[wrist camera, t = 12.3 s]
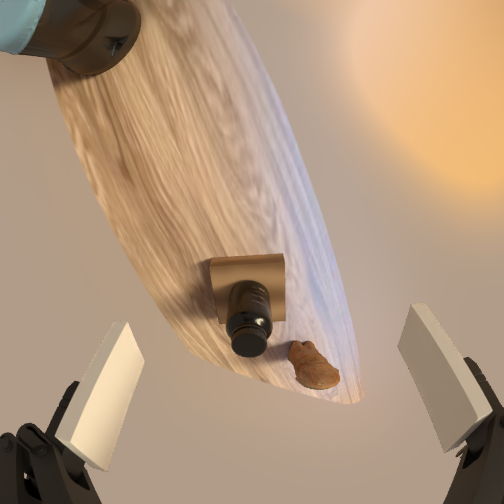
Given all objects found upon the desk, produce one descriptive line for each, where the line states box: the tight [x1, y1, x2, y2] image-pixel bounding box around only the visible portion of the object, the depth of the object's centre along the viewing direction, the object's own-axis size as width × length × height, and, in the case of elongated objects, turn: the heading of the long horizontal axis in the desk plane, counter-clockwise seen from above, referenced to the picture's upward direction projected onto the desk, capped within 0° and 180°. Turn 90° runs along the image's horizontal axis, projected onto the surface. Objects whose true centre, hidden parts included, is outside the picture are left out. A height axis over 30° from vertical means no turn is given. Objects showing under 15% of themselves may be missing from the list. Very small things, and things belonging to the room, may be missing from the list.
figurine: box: [288, 341, 340, 390], centre depth 48 cm, size 8×8×15 cm
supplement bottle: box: [226, 280, 273, 357], centre depth 41 cm, size 7×7×12 cm
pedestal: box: [209, 254, 286, 324], centre depth 48 cm, size 12×12×3 cm
